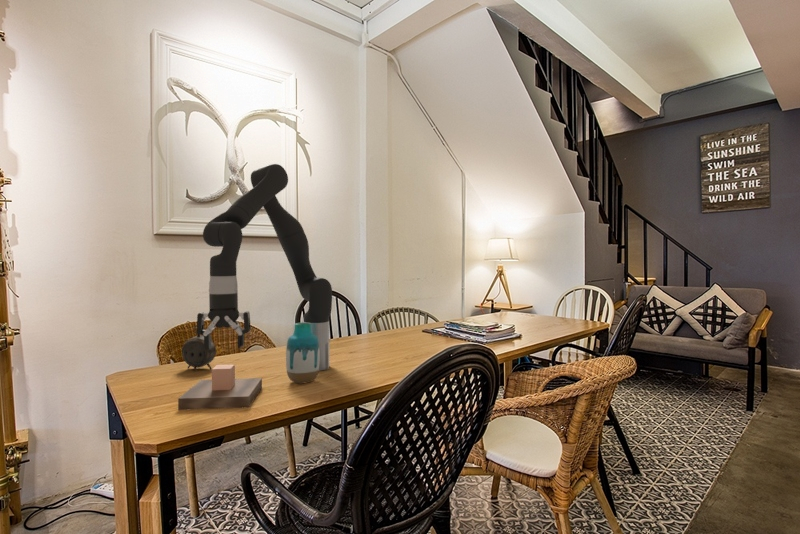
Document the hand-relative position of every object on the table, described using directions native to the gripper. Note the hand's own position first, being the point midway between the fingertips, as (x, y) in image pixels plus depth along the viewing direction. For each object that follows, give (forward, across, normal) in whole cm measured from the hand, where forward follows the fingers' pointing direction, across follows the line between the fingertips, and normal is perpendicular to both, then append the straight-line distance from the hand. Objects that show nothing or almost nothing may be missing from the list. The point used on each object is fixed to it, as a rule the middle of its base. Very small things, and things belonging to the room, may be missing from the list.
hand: (224, 348), depth 124 cm
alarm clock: (+15, +18, -34) cm, 41 cm away
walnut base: (+14, 0, 0) cm, 14 cm away
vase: (+15, -21, -14) cm, 29 cm away
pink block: (+11, 0, 0) cm, 11 cm away
